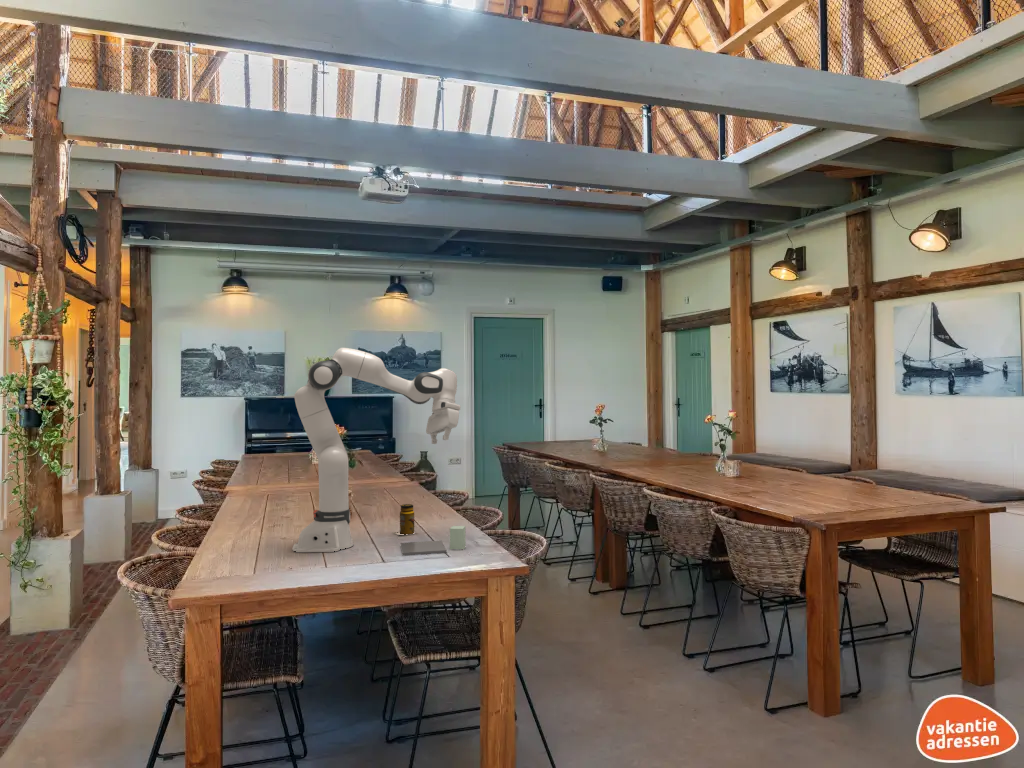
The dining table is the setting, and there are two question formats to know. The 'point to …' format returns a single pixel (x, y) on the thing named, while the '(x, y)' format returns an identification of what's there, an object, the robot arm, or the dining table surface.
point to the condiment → (406, 519)
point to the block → (457, 537)
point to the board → (423, 547)
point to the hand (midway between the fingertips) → (439, 441)
